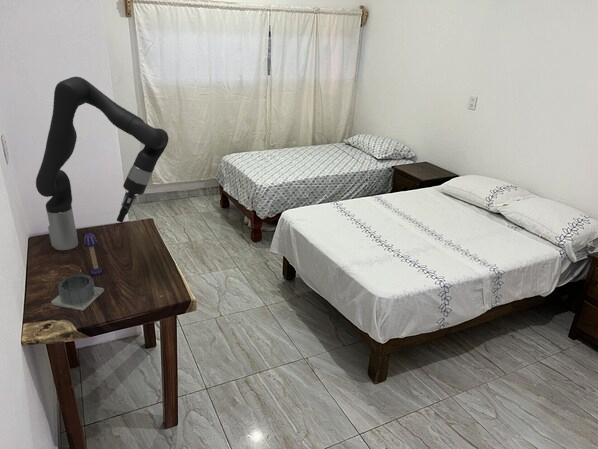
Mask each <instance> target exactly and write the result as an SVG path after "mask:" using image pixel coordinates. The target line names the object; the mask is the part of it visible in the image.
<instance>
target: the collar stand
mask: <svg viewBox="0 0 598 449" xmlns="http://www.w3.org/2000/svg"><path fill="white" fill-rule="evenodd" d="M57 289H58V295H57V296H56V297H54V299H52V300H51V301H50V302H51V304H50V305H51V306H52V305H53V306H58V307H63V308H68V309H71V310H72V309H73V310H78V311H84V310H86V309H87V308H88V307H89V306H90V305H91V304H92V303H93V302H94V301H95V300H96V299H97V298H98V297H100V295H102V294H103V292H105V288H103V287H99V286H95V283H94V278H92V277H91V276H90V275H87V274H82V273H81V274H73V275H70V276H67V277H65V278H63V279H62V280H61V281H59V282H58V286H57Z"/></svg>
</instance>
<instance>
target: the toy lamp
mask: <svg viewBox="0 0 598 449" xmlns="http://www.w3.org/2000/svg"><path fill="white" fill-rule="evenodd" d="M83 245H84V247H88V248H89V253H90V258H91V262H92V267H93V268H92V269H91V270H90V275H91V276H99V275H102V274H103V269H102V268H100V267H99V265H98V262H97V261H98V260H97V259H98V258H97V255H96V252H95V246H97V245H98V240H97V238H96V236H95V235H94V233H92V232H91V233H90V232H88V233H85V235H84V241H83Z"/></svg>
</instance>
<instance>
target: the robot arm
mask: <svg viewBox="0 0 598 449" xmlns="http://www.w3.org/2000/svg"><path fill="white" fill-rule="evenodd" d="M53 93H54V94H53V105H52V107H53V108H52V114H51V121H50V126H49V130H48V134H47V138H46V144H45V149H44V153H43V158H42V161H41V164H40V166H39V169H38V173H37V174H36V178H35V186H36V189H37V190H36V191H37V192H38V193H39V194H40V195H41V196H43V197H45V198H48V197H50V198H49V200H47V202H46V203H45V210H46V214H47V218H48V224H49V226H48V227H47V230H48V234H49V238H50V243H51V247H52V248H54V249H55V250H58V251H69V250H72V249H74V248H77V247H78V245H79V239H78V234H77V228H76V223H75V222H76V221H75V218H74V211H73V207H72V202H73V195H72V186H71V180H70V177H69V176H68V174H67V173H66V172H65V171H64V170H62V167H63V166H64V165H66V163H67V162H68V161H69V159H70V158H71V156H72V155H73V153H74V150H75V148H76V147H75V146H76V143H77V140H78V137H77V131H76V128H75V126H74V118H75V116H76V115H75V114H76V112H77V109H78V108H79V107H81V106H82V105H84V104H87V105H90V106H92V107H95V108H96V109H98V110H99V111H100V112H102V113H103V114H104V116H105V117H106V118H107V120H108V121H109V122H110V123H111V124H112V125H113V126H114V127H116V128H117V129H119V130H121V131H123V132H125V133H126V134H128V135H130V136H131V137H134V138H135V139H136V140H137V141H138V142H140V143H141V144H142V145H144V146H143V148H142V150H139V152H138V153H137V155H136V156H135V159H134V162H133V164H132V166H131V168H130V169H129V171H128V174H127V175H126V177H125V179H124V183H123V189H125V193H124V195H123V200H122V202H121V208H120V210H119V214H118V216H117V218H116V222H119V223H123V222H124V220H125V218H126V215H128V213H129V210H131V208H132V207H133V204H134V203H135V201H136V198H137V196H136V195H139V196H141V195H142V196H143V195H144V193H145V191H146V189H147V186H148V185H149V183H150V180H151V179H152V175H153V172H154V169H155V168H156V165H157V163H158V160H159V159H160V158H161V156H162V154H163V153H164V151H165V149H166V147H167V146H168V144H169V134H168V133H167V131H165V129H162V128H155V127H153V126H151V125H149V123H146V122H145V121H144V119H142V118H141V117H139V116H137V115H136V114H134V113H132V112H131V111H129V110H127V109H126V108H124V107H122V106H121V105H119V104H117V103H116V102H115V101H114V100H113V99H111V98H110V97H108V96H107V95H106V94H105V93H103V92H102V91H101V90H99V88H97V87H96V86H94V85H93V84H92V83H90V82H89V81H88V80H86V79H85V78H84V77H80V76H72V77H69V78H66V79H63V80H60V81H59V82H58V83H57V84H56V86H55V88H54V92H53Z"/></svg>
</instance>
